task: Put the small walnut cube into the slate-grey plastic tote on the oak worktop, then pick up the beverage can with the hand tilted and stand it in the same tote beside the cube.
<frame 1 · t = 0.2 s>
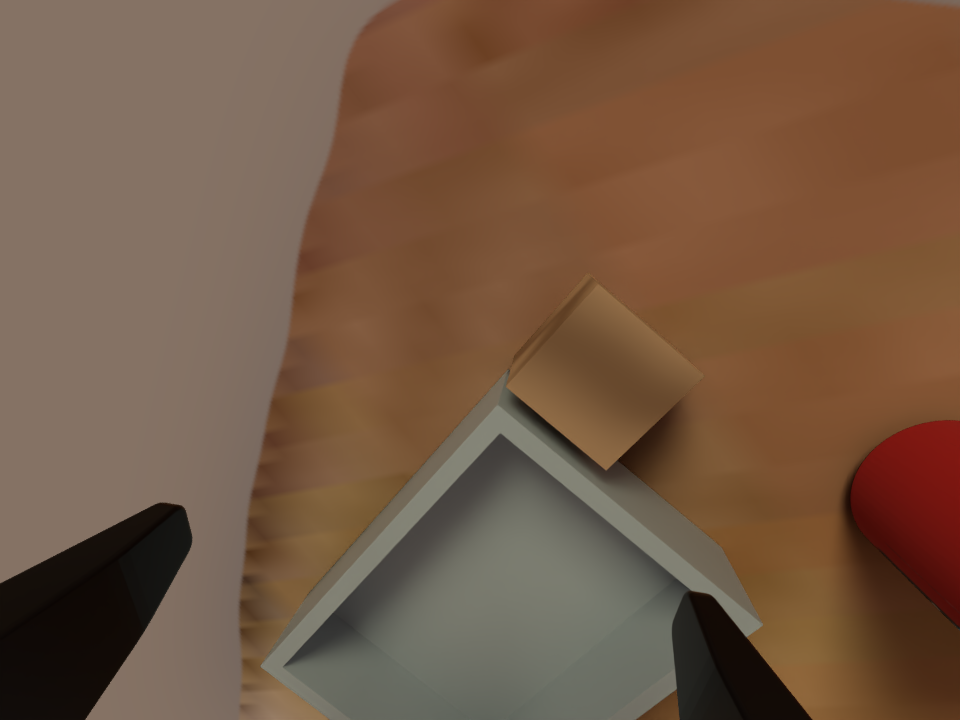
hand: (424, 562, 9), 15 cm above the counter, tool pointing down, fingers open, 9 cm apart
tote: (499, 571, 26), on the counter
walnut cube: (591, 350, 23), on the counter
beverage can: (919, 481, 23), on the counter
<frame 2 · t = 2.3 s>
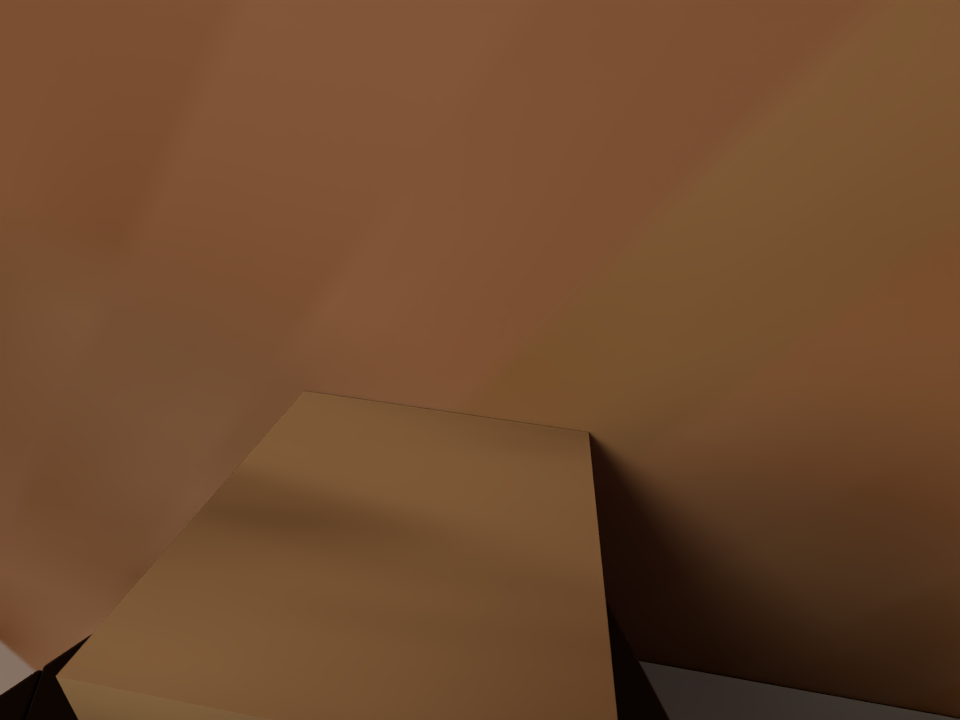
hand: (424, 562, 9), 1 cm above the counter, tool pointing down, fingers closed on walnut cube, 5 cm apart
walnut cube: (436, 517, 10), on the counter, touching gripper
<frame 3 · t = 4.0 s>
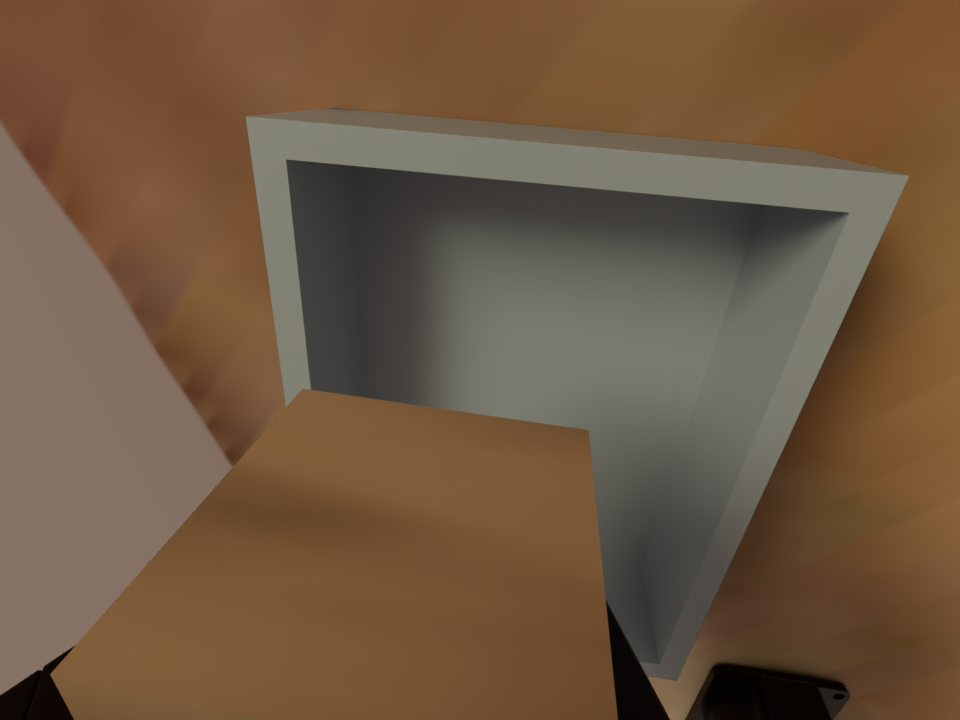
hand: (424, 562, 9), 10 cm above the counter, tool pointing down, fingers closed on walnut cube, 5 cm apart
tote: (523, 383, 19), on the counter
walnut cube: (436, 516, 10), point 9 cm above the counter, touching gripper
when the fingers open (4 cm above the counter, at t = 6.1 s): walnut cube drops 2 cm, resting on tote.
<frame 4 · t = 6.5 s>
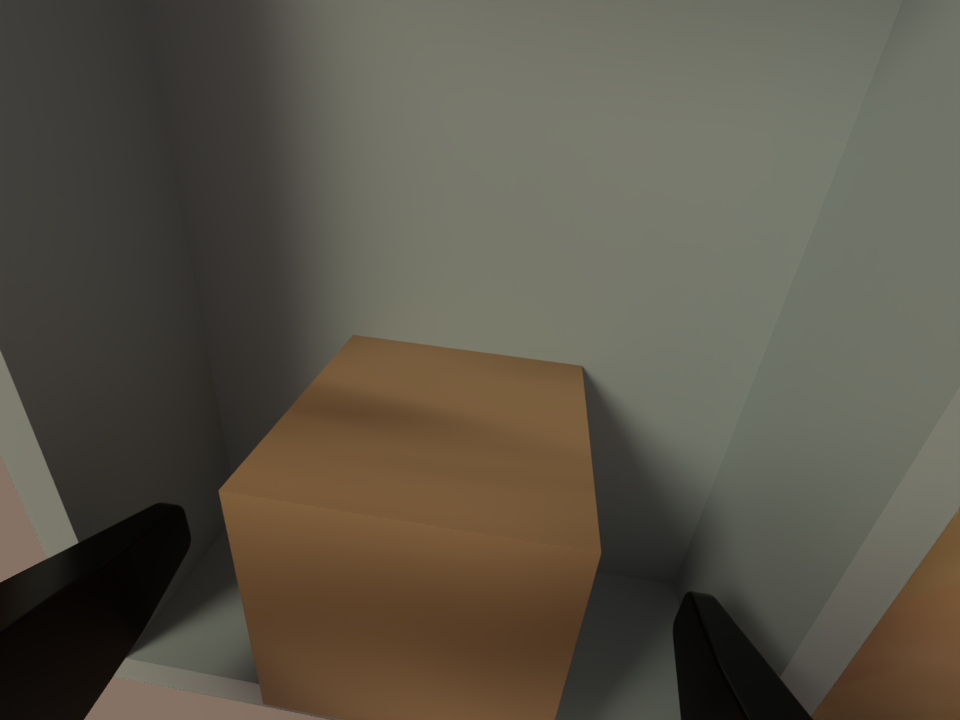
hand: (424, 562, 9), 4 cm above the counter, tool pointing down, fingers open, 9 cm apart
tote: (476, 248, 11), on the counter
walnut cube: (458, 443, 12), point 1 cm above the counter, touching tote
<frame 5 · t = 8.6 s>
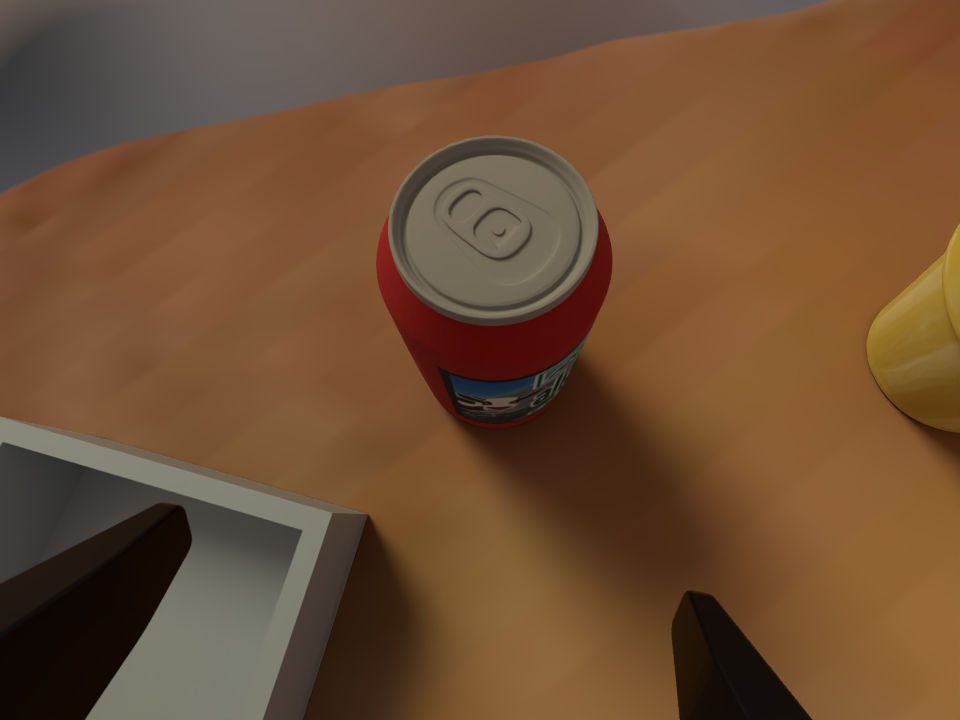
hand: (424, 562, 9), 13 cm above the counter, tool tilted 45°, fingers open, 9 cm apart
tote: (141, 687, 20), on the counter
plant pot: (936, 365, 23), on the counter
beverage can: (495, 363, 24), on the counter
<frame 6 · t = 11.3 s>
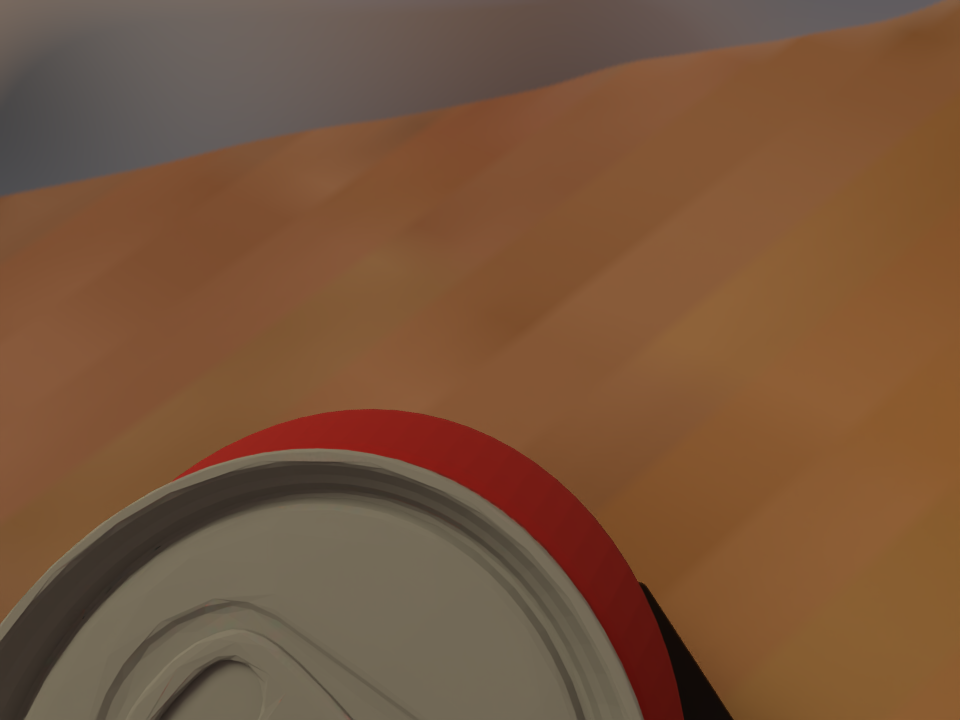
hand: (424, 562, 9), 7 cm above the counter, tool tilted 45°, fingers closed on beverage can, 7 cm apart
beverage can: (447, 593, 15), on the counter, touching gripper
when the fingers open (9 cm above the counter, at t = 15.2 s): beverage can drops 2 cm, resting on tote.
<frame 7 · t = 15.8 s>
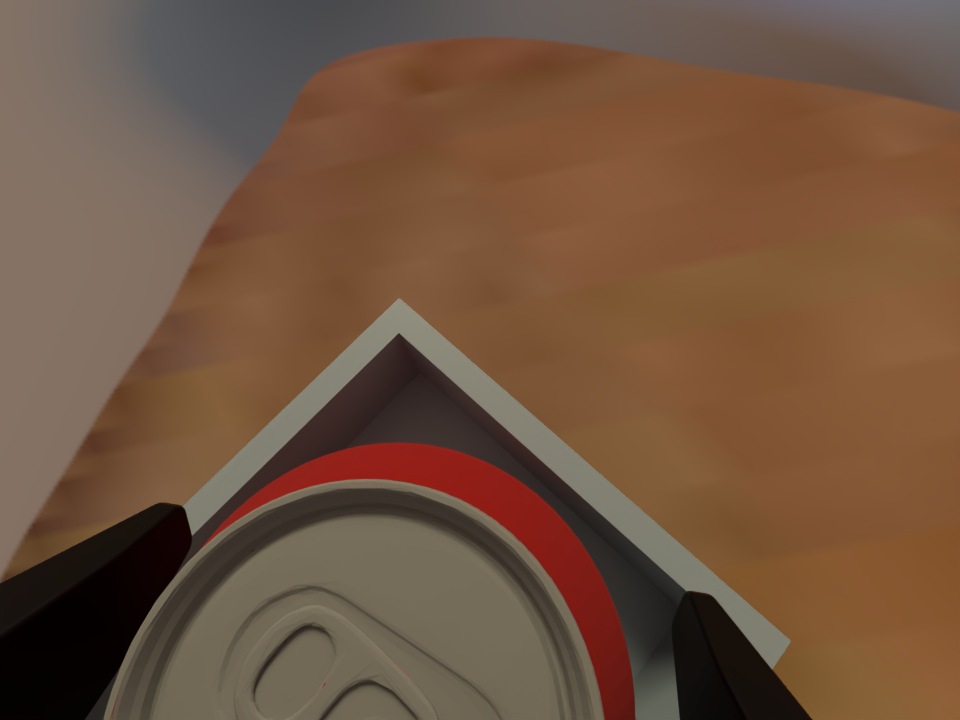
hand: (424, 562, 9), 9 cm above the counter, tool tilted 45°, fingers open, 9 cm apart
tote: (382, 666, 17), on the counter
beverage can: (453, 590, 17), point 1 cm above the counter, touching tote
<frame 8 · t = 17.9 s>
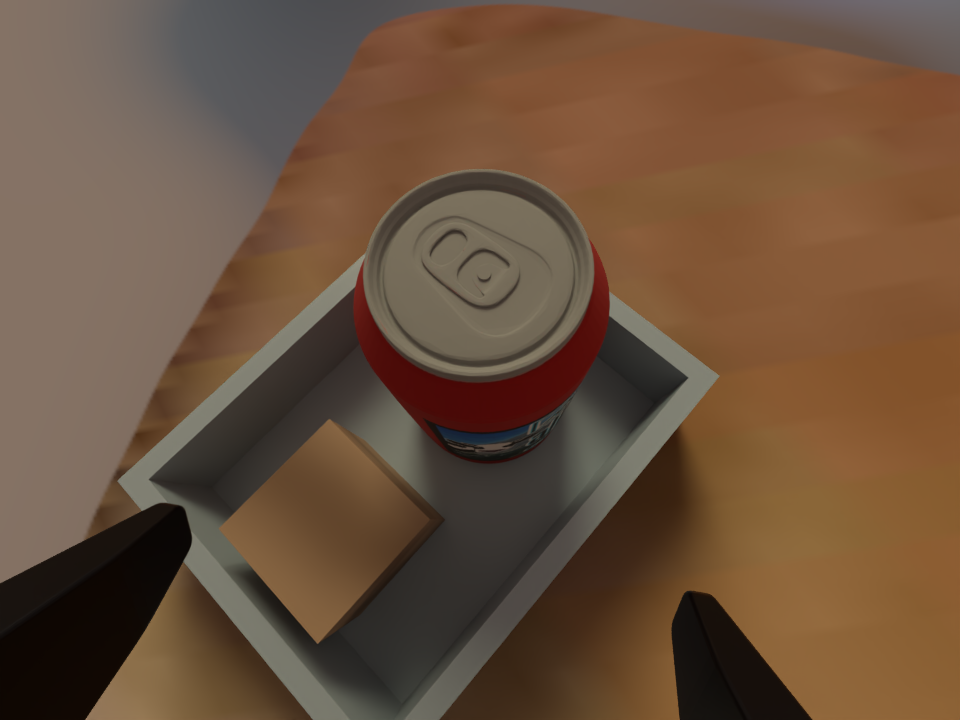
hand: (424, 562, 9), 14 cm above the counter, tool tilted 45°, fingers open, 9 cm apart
tote: (437, 446, 23), on the counter
walnut cube: (362, 523, 21), point 1 cm above the counter, touching tote
beverage can: (488, 392, 23), point 1 cm above the counter, touching tote
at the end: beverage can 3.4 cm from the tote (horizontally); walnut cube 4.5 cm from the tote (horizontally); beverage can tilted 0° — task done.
